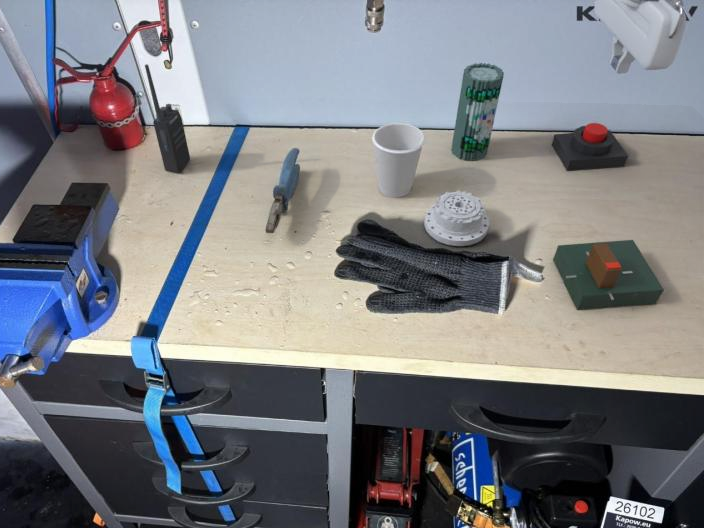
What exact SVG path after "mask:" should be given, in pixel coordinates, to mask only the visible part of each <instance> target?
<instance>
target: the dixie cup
mask: <svg viewBox="0 0 704 528" xmlns="http://www.w3.org/2000/svg"><path fill="white" fill-rule="evenodd" d="M371 139H372V143H373V146H374V147H373V148H374V157H375V167H376V178H377V180H376V181H377V189H378V191H379V193H380V194H382V195H383V196H385V197H388V198H390V199H391V198H392V199H397V198H398V199H399V198H403V197H406V196H407V195H409V194H410V192H411V191H412V187H413V183H414V180H415V176H416V172H417V169H418V164H419V161H420V157H421V153H422V149H423V146H424V145H425V142H426V136H425V133H424V132H423V131H422V130H421V129H420V128H418V127H417V126H414V125H412V124H409V123H404V122H392V123H388V124H387V123H386V124H384V125H382V126H379V127H378V128H376V129H375V131H374V132H373V134H372V138H371Z"/></svg>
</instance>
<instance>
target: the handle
mask: <svg viewBox="0 0 704 528" xmlns="http://www.w3.org/2000/svg"><path fill="white" fill-rule="evenodd" d="M586 264H587V266H588V268H589V270H590V272H591V274H592V276H593V278H594V280H595V282H596V283H597V285H598V287H599V288H612V287H614V285H615V283H616V281H617V279H618V277H619V275H620V273H621V271H622V268H621V266H620V264H619V262H618V261H617V260H616V258H615V256H614V254H613V253H612V251H611V249H610V247H609V246H608V244H598V245H593V247H592V249H591V251H590V254H589V256H588V258H587V261H586Z"/></svg>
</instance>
